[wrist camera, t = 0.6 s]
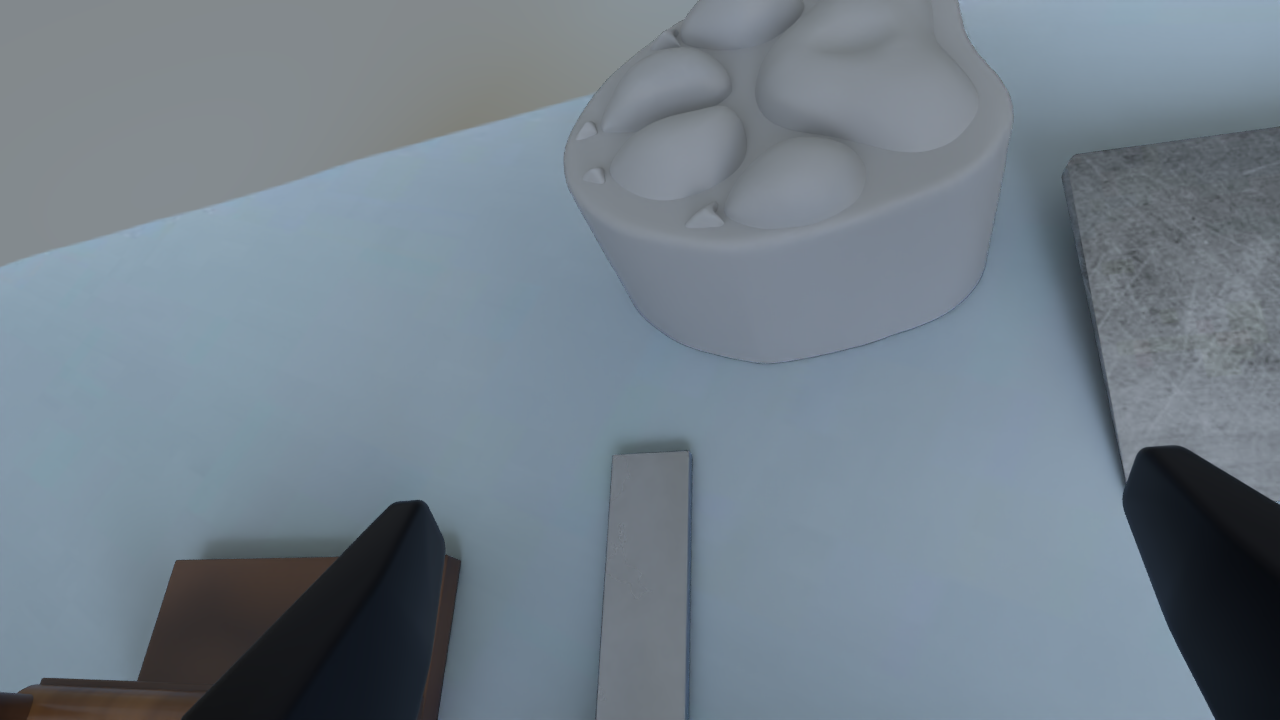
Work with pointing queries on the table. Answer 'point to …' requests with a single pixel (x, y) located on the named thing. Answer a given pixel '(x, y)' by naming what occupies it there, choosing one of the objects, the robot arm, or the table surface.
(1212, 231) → the meat cleaver
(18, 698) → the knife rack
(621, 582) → the kitchen knife
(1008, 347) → the table surface
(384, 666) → the robot arm
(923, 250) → the lumpy-topped squat cylinder
